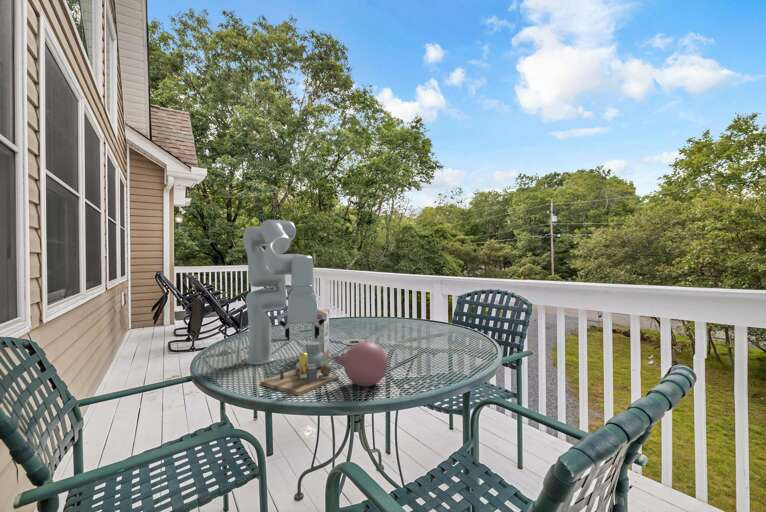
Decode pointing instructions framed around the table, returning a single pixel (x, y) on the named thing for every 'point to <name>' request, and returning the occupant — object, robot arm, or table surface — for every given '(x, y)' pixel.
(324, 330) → the cracker box
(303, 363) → the lever
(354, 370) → the balloon
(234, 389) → the table surface
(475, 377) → the table surface
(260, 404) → the table surface
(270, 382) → the base
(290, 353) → the table surface
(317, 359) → the air freshener
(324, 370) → the walnut ball
